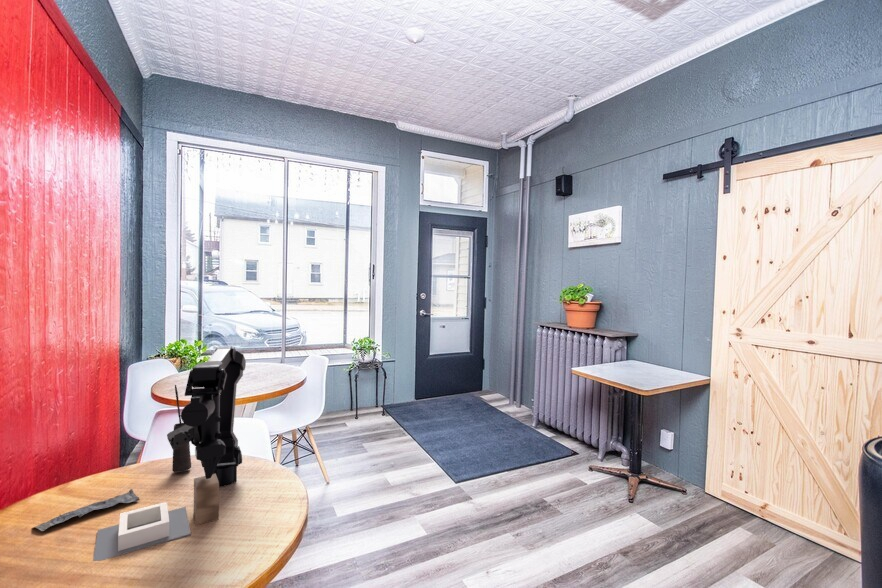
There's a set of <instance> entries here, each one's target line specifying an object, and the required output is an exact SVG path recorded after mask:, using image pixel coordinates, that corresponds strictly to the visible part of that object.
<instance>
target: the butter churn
mask: <svg viewBox="0 0 882 588" xmlns="http://www.w3.org/2000/svg"><path fill="white" fill-rule="evenodd" d="M177 387H178V386H177V385H176V384H174V391H175V398H176V405H177V413H178V414H177V415H178V422H177V423H175V424H173V431H174V430H176V429H178V428H180V427H182V426H185V425H186V424H185V423H184V422H182V419H181V409H180V401H179V394H178V388H177ZM190 446H191V445H190V442H188V443H186V444H184V445H182V446H180V447H179V448H178V449H175V450H173V449H172V466H171V470H172V472H173V473H182V472H185V471H188V470H190V469H191V468H192V459H191V447H190Z"/></svg>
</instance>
